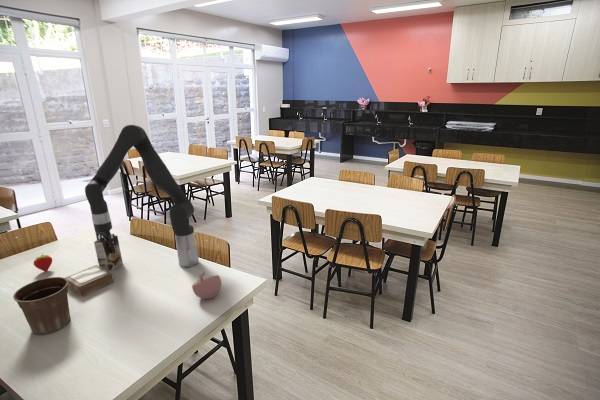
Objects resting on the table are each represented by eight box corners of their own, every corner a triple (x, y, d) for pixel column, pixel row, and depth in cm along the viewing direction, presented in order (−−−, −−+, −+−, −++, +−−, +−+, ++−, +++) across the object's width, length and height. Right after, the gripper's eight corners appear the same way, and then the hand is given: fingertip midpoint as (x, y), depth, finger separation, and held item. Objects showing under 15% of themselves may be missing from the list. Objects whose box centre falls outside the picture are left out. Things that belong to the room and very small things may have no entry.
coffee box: (110, 272, 163) (104, 242, 158) (99, 271, 164) (92, 241, 159) (123, 263, 172) (117, 235, 167) (112, 262, 173) (106, 234, 168)
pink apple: (213, 285, 150) (211, 263, 147) (227, 296, 142) (225, 273, 139) (188, 296, 142) (185, 273, 139) (202, 308, 134) (199, 284, 131)
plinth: (113, 282, 154) (111, 272, 153) (81, 296, 143) (79, 286, 142) (98, 273, 162) (96, 264, 160) (67, 287, 151) (64, 277, 149)
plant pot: (87, 315, 131) (78, 280, 126) (45, 343, 116) (33, 305, 111) (58, 308, 136) (48, 273, 131) (14, 333, 122) (2, 296, 117)
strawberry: (35, 271, 165) (30, 253, 162) (53, 266, 170) (48, 248, 167) (37, 276, 161) (32, 257, 158) (56, 270, 166) (51, 252, 163)
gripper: (117, 221, 159) (123, 251, 164) (102, 215, 167) (108, 244, 172) (101, 226, 153) (108, 257, 158) (86, 220, 161) (93, 250, 166)
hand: (108, 250), depth 165 cm, fingers closed on coffee box, 8 cm apart
